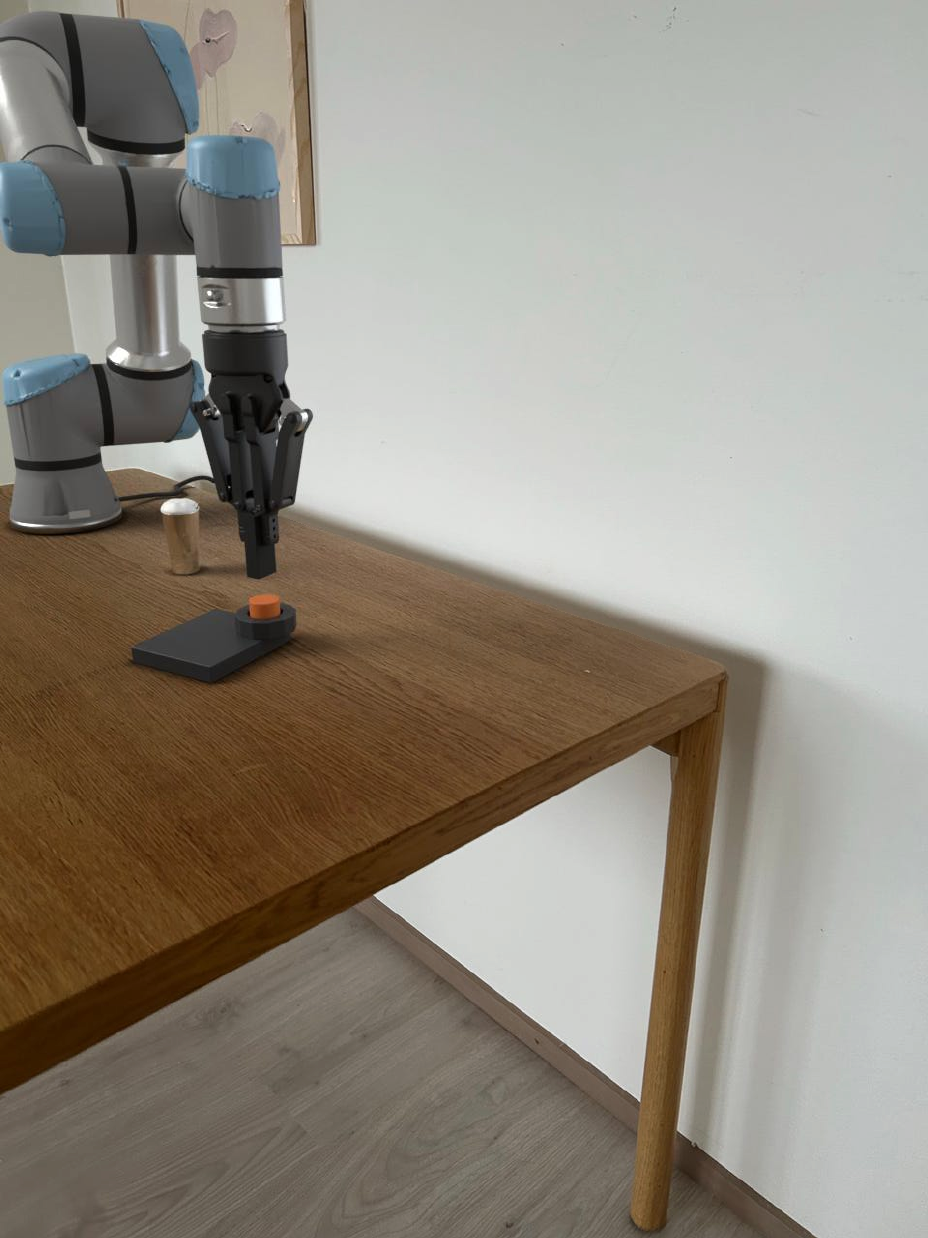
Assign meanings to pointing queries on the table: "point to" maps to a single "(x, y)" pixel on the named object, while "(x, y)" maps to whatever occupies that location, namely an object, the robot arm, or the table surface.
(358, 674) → the table surface
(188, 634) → the scale
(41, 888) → the table surface
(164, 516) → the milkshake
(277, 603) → the button
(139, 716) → the table surface
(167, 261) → the robot arm
